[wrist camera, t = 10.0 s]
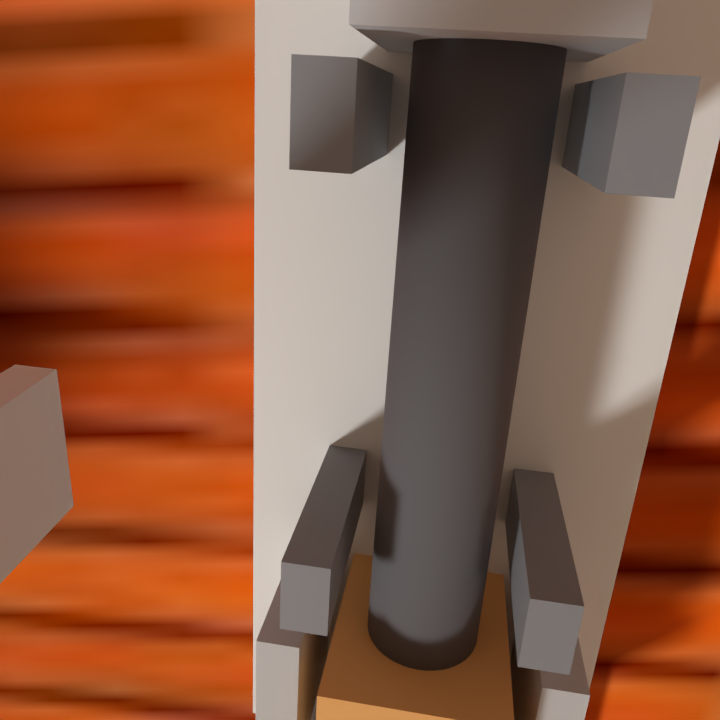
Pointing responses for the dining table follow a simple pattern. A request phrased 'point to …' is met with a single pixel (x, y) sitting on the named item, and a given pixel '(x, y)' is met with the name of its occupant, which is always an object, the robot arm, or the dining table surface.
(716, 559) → the dining table surface
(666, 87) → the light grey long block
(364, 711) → the rod with end blocks
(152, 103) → the dining table surface
